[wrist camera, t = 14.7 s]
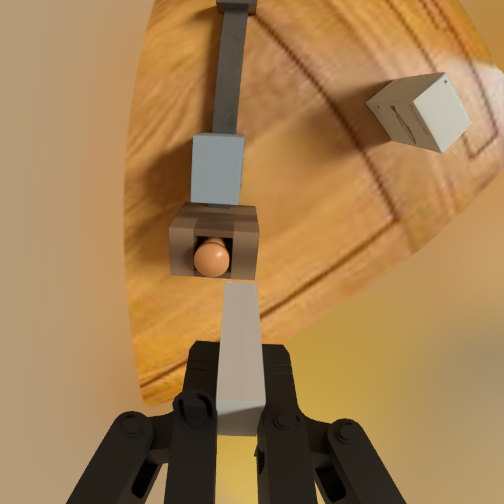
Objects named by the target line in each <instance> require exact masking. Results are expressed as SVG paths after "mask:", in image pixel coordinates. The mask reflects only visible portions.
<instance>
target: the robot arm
mask: <svg viewBox="0 0 504 504" xmlns="http://www.w3.org/2000/svg"><path fill="white" fill-rule="evenodd" d="M172 405H173V409H174V411H172V412H171V413H168V414H165V415H161V416H153V417H146V416H145V415H143V414H142V413H140V412H135V411H129V412H124V413H122V414H120V415H119V416H118V417H117V418H116V419H115V421H114V422H113V424H112V425H111V427H110V429H109V431H108V432H107V434H106V436H105V437H104V439H103V440H102V442H101V444H100V445H99V447H98V449H97V451H96V452H95V454H94V456H93V457H92V459H91V461H90V462H89V464H88V466H87V468H86V469H85V471H84V473H83V475H82V476H81V478H80V480H79V481H78V484H77V485H76V487H75V488H74V490H73V492H72V494H71V496H70V497H69V499H68V501H67V503H66V504H145V502H146V500H147V497H148V495H149V493H150V491H151V489H152V487H153V484H154V482H155V480H156V478H157V475H158V473H159V471H160V469H161V467H162V464H164V463H168V472H167V479H166V488H165V497H164V504H215V483H216V454H217V435H228V436H256V435H257V439H258V444H257V447H256V450H255V454H254V456H256V457H257V458H256V459H257V482H258V504H318V502H317V496H316V488H315V482H316V484H317V487H318V489H319V491H320V493H321V495H322V497H323V500H324V502H325V504H406V502H405V500H404V499H403V497H402V495H401V494H400V492H399V490H398V488H397V487H396V485H395V484H394V481H393V480H392V478H391V476H390V474H389V473H388V471H387V469H386V468H385V466H384V464H383V462H382V461H381V459H380V457H379V456H378V454H377V452H376V450H375V449H374V447H373V445H372V444H371V442H370V440H369V439H368V437H367V435H366V433H365V432H364V430H363V428H362V427H361V426H360V425H359V424H358V423H357V422H355V421H354V420H351V419H346V418H345V419H338V420H336V421H335V422H333V423H332V424H330V423H325V422H320V421H316V420H313V419H310V418H308V417H307V416H305V415H304V414H303V413H302V412H301V410H300V409H299V407H298V404H297V397H296V391H295V384H294V379H293V374H292V367H291V360H290V355H289V353H288V351H287V350H286V348H285V347H284V346H283V345H278V344H262V343H261V330H260V317H259V304H258V291H257V283H245V282H231V281H226V282H225V293H224V304H223V315H222V327H221V340H220V342H208V341H197V340H196V342H195V343H194V344H193V346H192V347H191V348H190V350H189V356H188V361H187V367H186V373H185V378H184V384H183V390H182V392H181V393H179V394H178V395H177V396H176V397H175V399H174V401H173V403H172ZM314 480H315V481H314Z"/></svg>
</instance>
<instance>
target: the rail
mask: <svg viewBox="0 0 504 504" xmlns="http://www.w3.org/2000/svg"><path fill="white" fill-rule="evenodd" d="M216 5H217V9H218V13H224V19H223V26H222V34H221V42H220V51H219V60H218V69H217V79H216V89H215V100H214V112H213V125H212V133H219V134H236V126H237V115H238V104H239V93H240V83H241V72H242V63H243V53H244V44H245V35H246V26H247V18H248V14H250V15H255V13H256V6H257V0H216ZM230 205H231V204H215V203H208V208H224V209H230Z"/></svg>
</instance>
